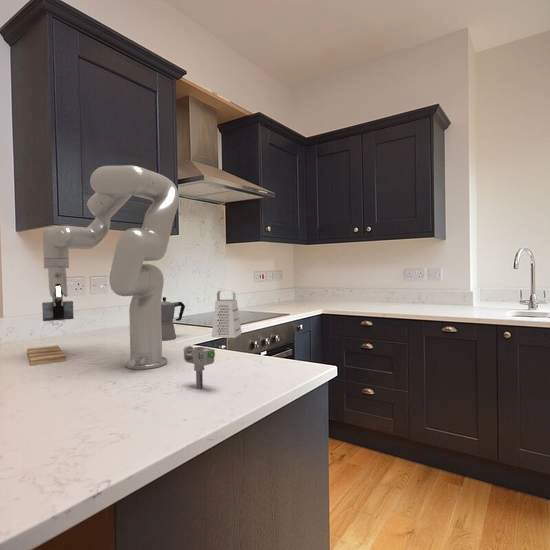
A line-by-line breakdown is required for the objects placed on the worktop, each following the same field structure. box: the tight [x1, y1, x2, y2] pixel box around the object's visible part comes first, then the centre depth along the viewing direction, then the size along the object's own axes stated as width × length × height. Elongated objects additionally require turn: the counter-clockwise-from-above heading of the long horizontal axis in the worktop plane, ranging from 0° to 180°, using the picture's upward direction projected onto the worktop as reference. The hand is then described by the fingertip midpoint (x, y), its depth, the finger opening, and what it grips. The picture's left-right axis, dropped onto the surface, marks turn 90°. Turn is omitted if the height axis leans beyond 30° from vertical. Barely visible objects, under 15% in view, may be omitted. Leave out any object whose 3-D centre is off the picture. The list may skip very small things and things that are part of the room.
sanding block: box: [41, 300, 74, 322], centre depth 132 cm, size 9×4×6 cm, turn 123°
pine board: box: [26, 344, 67, 366], centre depth 135 cm, size 24×10×2 cm, turn 35°
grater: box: [211, 289, 243, 339], centre depth 171 cm, size 10×10×20 cm
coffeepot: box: [161, 296, 186, 342], centre depth 166 cm, size 15×9×18 cm, turn 118°
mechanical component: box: [183, 345, 216, 389], centre depth 96 cm, size 3×10×10 cm, turn 51°
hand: (58, 316), depth 132 cm, fingers closed on sanding block, 4 cm apart
